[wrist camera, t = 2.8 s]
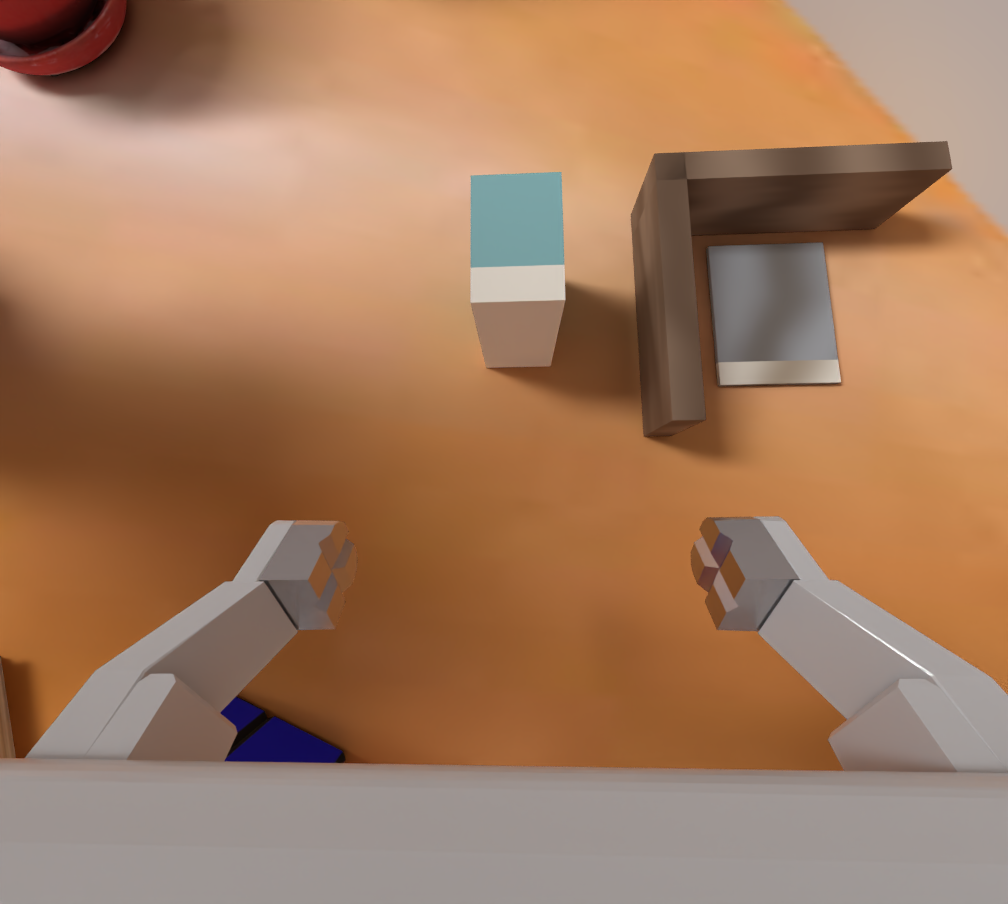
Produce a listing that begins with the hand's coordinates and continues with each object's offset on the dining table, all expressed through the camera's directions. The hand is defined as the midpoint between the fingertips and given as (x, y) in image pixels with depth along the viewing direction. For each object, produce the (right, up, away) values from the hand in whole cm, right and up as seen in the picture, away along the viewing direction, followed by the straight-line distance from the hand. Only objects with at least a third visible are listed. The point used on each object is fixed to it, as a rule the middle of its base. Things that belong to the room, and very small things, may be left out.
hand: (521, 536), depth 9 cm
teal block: (0, +10, +16) cm, 19 cm away
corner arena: (+16, +10, +15) cm, 24 cm away
